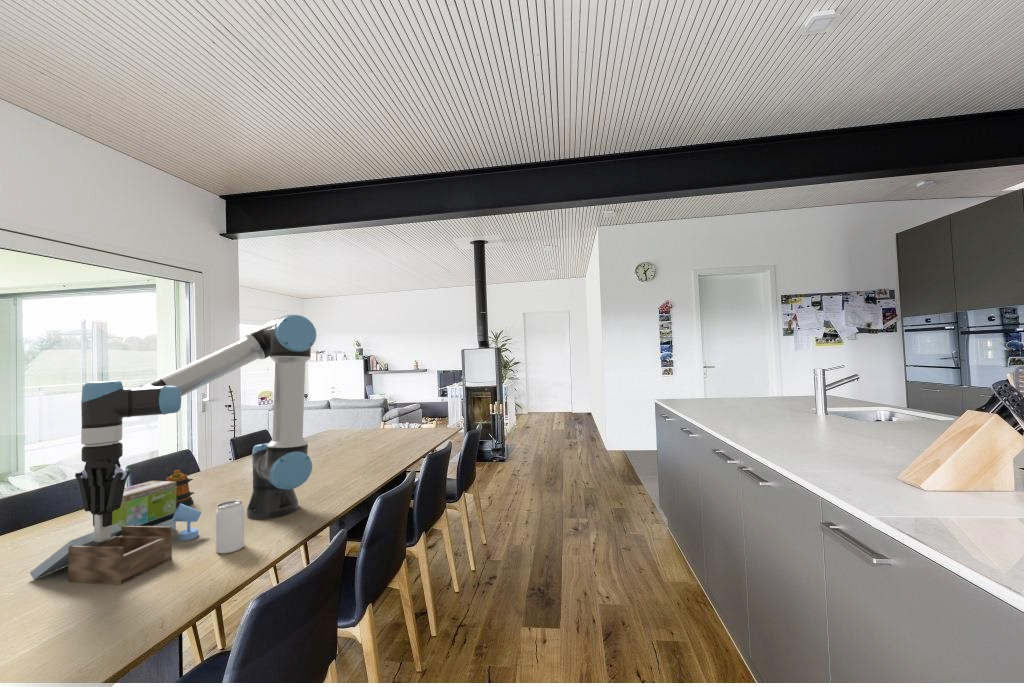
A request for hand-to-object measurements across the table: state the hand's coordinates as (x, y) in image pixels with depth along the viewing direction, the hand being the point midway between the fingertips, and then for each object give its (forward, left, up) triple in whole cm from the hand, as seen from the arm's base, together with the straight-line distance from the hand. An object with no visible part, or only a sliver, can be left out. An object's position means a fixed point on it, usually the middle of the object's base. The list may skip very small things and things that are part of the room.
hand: (102, 539), depth 110 cm
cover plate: (+6, -2, -3) cm, 7 cm away
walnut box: (-5, +2, -7) cm, 9 cm away
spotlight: (-11, -17, -8) cm, 22 cm away
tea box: (+3, -21, -8) cm, 23 cm away
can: (-27, -4, -8) cm, 28 cm away
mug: (+8, -53, -8) cm, 54 cm away
